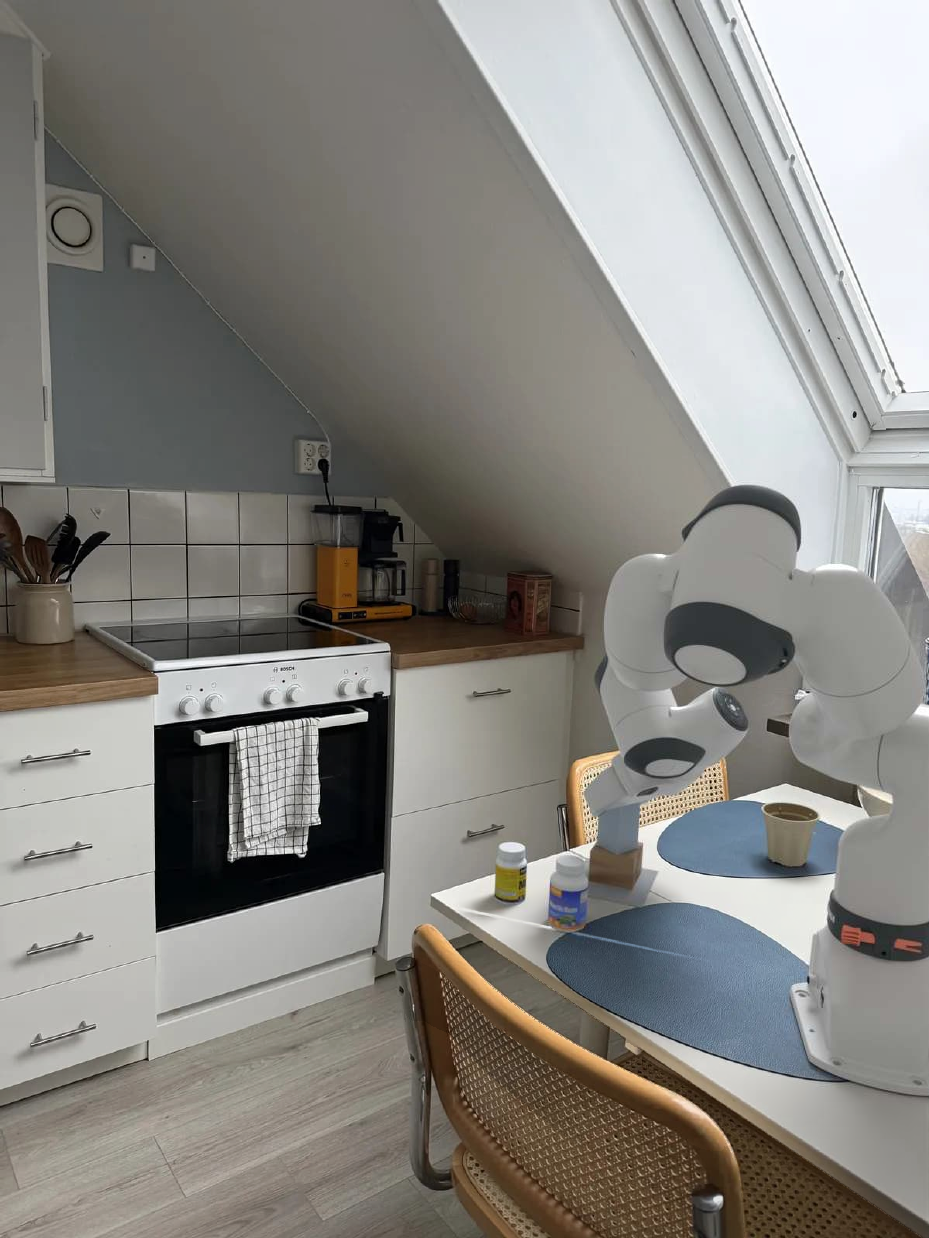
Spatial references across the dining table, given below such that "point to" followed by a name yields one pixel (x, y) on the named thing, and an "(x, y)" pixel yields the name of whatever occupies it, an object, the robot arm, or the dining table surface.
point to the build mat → (622, 889)
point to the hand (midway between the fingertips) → (616, 806)
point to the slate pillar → (619, 829)
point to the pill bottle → (568, 895)
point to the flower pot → (789, 831)
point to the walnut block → (615, 866)
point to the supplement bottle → (510, 874)
